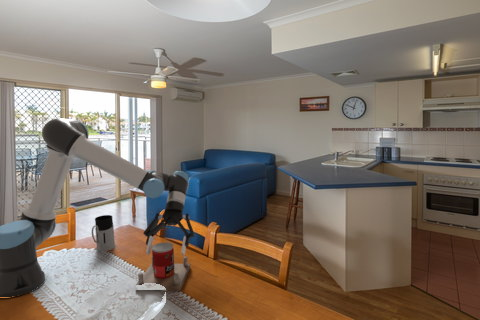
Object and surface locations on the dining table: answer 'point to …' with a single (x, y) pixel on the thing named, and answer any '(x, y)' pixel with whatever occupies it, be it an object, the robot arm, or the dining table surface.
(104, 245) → the grey mug
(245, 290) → the dining table surface
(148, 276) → the peg board
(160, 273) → the canned food
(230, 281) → the dining table surface
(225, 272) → the dining table surface
